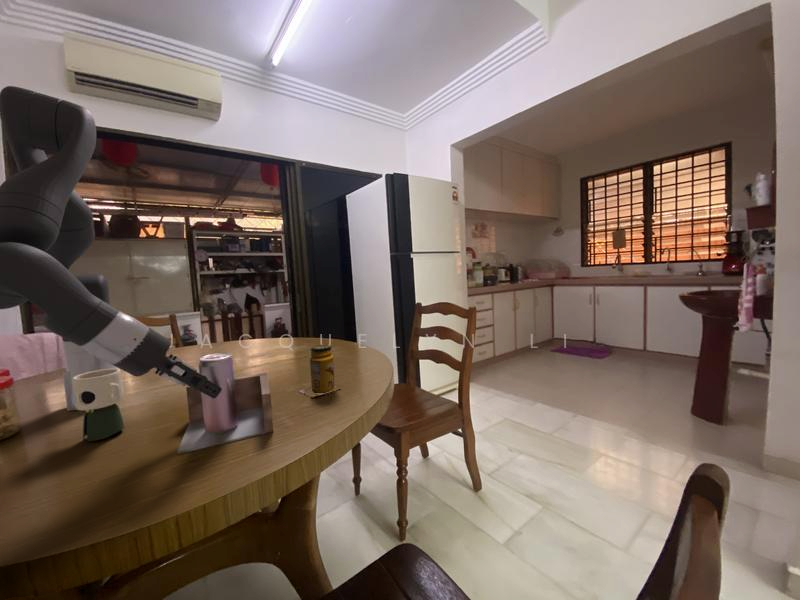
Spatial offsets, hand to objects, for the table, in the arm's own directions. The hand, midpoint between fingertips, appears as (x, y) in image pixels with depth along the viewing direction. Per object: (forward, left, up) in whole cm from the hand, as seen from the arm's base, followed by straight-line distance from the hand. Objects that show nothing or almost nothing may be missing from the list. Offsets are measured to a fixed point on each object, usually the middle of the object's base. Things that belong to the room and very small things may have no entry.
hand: (209, 389), depth 63 cm
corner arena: (+3, +2, -9) cm, 10 cm away
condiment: (+24, +13, -10) cm, 29 cm away
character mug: (-20, +11, -9) cm, 25 cm away
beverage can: (+1, +1, -9) cm, 9 cm away
